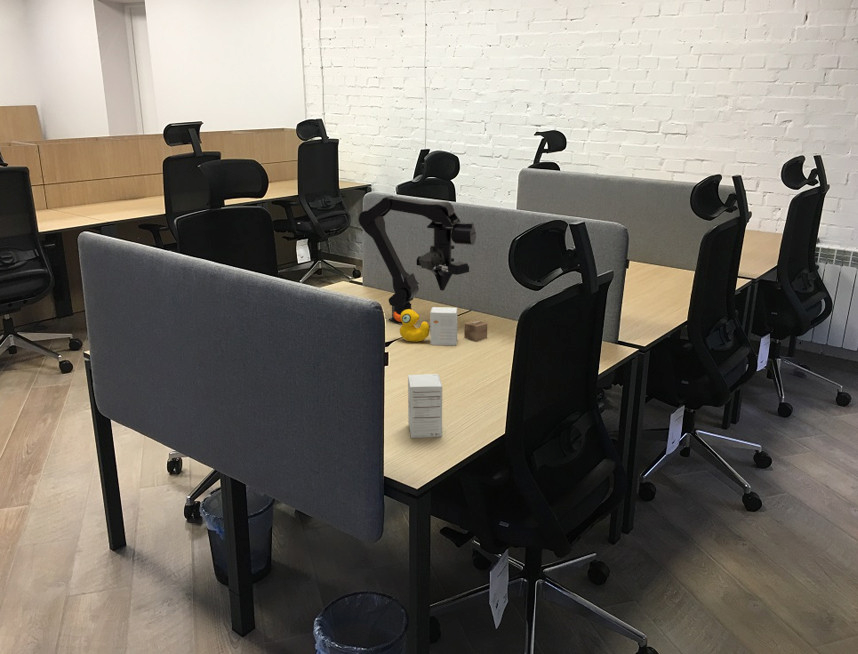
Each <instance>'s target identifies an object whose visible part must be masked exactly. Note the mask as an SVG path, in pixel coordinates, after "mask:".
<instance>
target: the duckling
mask: <svg viewBox="0 0 858 654" xmlns="http://www.w3.org/2000/svg"><path fill="white" fill-rule="evenodd" d="M393 315H394V318H395V320H397V321H399V322H402V323H403V324H401V326H400V327H399V333H400V336H401V338H403V340H404V341H407V342H414V343H418V342H422V341H424V340H426V339H427V338H428V337H429V335H430V324H429V323H428V322H427V321H422V322H421V324H420V326H419V327H416V326H415V325H416V324H417V322H418V321H419V320H420V315H419V314H418V313H417V312H416V311H415V310H413V309H412V310H411V309H407V310H404V311H403V312H402V313H401V315H399V314H397V313H396V312H394V314H393Z"/></svg>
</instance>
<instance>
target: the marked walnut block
mask: <svg viewBox="0 0 858 654" xmlns="http://www.w3.org/2000/svg"><path fill="white" fill-rule="evenodd" d="M463 331H464V334H463V335H464V339H466V340H469V341H473V342H474V343H475V342H476V343H477V342H480V341H483V340H485V339H488V322H484V321H481V320H479V319H474V320H470V321H466V322H464V329H463Z"/></svg>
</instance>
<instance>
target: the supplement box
mask: <svg viewBox="0 0 858 654" xmlns="http://www.w3.org/2000/svg"><path fill="white" fill-rule="evenodd" d="M407 397H408V398H407V399H408V401H407V403H408V408H407V409H408V411H407V412H408V413H407V414H408V417H407V418H408V421H407V422H408V426H409V427H408V428H409V433H410V438H411V439H413V438H414V439H417V438H419V439H421V438H441V437H443V384H442V380H441V378H440V374H439V373H428V374H427V373H426V374H408V375H407Z"/></svg>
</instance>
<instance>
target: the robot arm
mask: <svg viewBox="0 0 858 654" xmlns="http://www.w3.org/2000/svg"><path fill="white" fill-rule="evenodd" d="M454 208H455V207H454V206H453V204H452V203H451V202H450V201H431V202H426V201H420V200H419V201H418V200H414V199H410V198H409V199H407V198H401V197H397V196H393V195H388V196H385V197H383V198H382V199H380V201H378V203H376V204H374V205H373V206H372V207H370V208H368V209H366V210H363V211H362V212H360V213H359V216H358V219H357V220H358V223H359V226H360V227H361V228H362V230H363V231H364V232H365V233H366V234H367V235H368V236H369V237H371V239H372V240H373V242H374V243H375V245H376V247H377V250H378V253H379V254H380V256H381V258H382V260H383V263H384V264H385V266H386V268H387V269H388V272H389V273H390V276H391V279H392V289H393V292H394V294H393V295H391V296H390V297H389V298H388V303H389V306H391V317H390V318H388V321H390V322H393V323H396V324H398V325H403V323H402V322H399V321H397V320H395V318H394V315H393V314H394V312H396V313H397V314H399V315H401V313H402V312H403V311H404V310H407V309H411V310H413V308H412V303H411V301H413V300H414V298H415V297H416V296H417V295H418V293H419V291H420V289H419V284H420V283H419V282H418V280H417V278H416V276H415V274H414V272H412V273H410V274H409V273H408V272H407V271H406V270H405V268H404V266H403V264H402V262H401V260H400V258H399V256H398V254H397V252H396V250H395V248H394V246H393V243H392V242H391V240H390V238H389V236H388V233H387V231H386V222H385V219H384V217H385V216H386V215H387V214H388V213H390V212H391V211H395V212H396V211H397V212H402V213H406V214H407V213H408V214H413V215H418V216H421V217H424V218H426V219H428V220H430V223H429V224H428V225H427V226H426V228H427V229H433V245H430V247H429V252H426V253H424V254H423V255H418V257H417V258H416V266H420V267H421V269H426V270H429V272H432V273H433V275H434V276H435V279H436V281H437V284H438V288H439V291H442V292H443V291H445V289H446V288H447V286H448V283H449V281H450V279H451V277H452V275H455V276H456V275H462V274H466V273H470V265H469V264H468V263H467V262H463V261H456V262H454V261H455V258H454V257H452V250H454V249H455V245H467V246H474V245H475V243H476V241H477V240H476V239H477V232H476V228H475V224H474V222H467V223H466V222H461V220H460V217H458V215H457V214H456V213H455V209H454ZM453 243H454V244H455V245H452V244H453Z"/></svg>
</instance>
